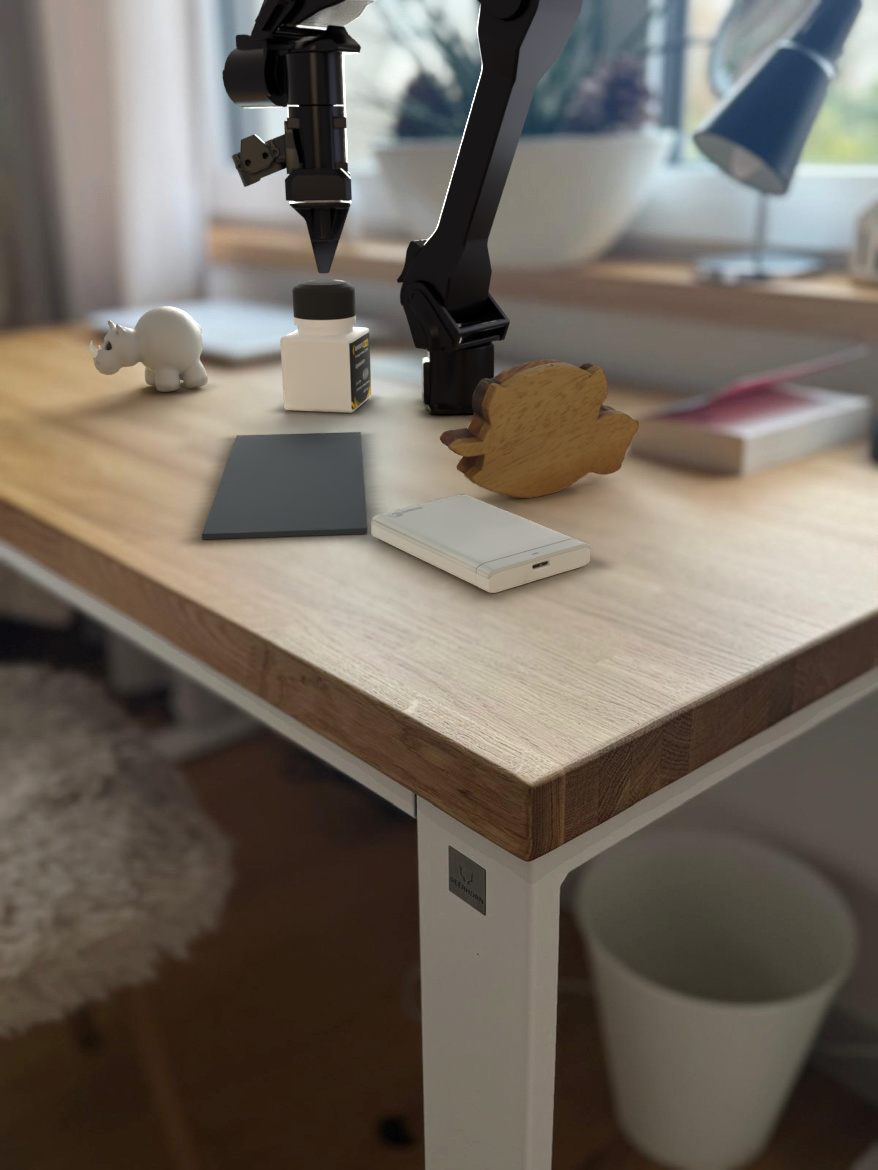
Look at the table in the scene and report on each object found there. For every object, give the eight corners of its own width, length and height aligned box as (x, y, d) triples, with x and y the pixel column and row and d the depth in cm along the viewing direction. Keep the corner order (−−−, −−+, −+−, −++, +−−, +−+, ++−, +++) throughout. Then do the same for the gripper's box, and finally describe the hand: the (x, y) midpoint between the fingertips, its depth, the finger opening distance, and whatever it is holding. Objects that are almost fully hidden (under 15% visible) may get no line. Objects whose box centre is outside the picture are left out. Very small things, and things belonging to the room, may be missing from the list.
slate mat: (360, 436, 97) (360, 431, 97) (367, 533, 73) (367, 528, 73) (236, 439, 96) (236, 435, 96) (202, 539, 72) (201, 533, 72)
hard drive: (370, 515, 71) (488, 569, 62) (467, 492, 76) (591, 539, 67) (371, 539, 72) (488, 596, 63) (467, 514, 77) (590, 564, 67)
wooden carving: (600, 467, 87) (607, 342, 83) (640, 480, 84) (648, 351, 80) (429, 503, 79) (428, 366, 75) (465, 520, 75) (465, 377, 71)
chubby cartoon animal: (86, 390, 115) (75, 309, 112) (194, 377, 121) (186, 299, 118) (104, 403, 110) (93, 318, 106) (216, 389, 115) (209, 307, 112)
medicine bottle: (353, 413, 105) (348, 286, 100) (283, 410, 106) (275, 284, 101) (372, 397, 111) (368, 277, 106) (305, 395, 112) (299, 276, 108)
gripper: (242, 109, 114) (252, 262, 120) (224, 104, 97) (237, 283, 103) (347, 108, 115) (352, 260, 121) (348, 103, 98) (354, 281, 104)
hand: (324, 270), depth 112 cm, fingers open, 4 cm apart
